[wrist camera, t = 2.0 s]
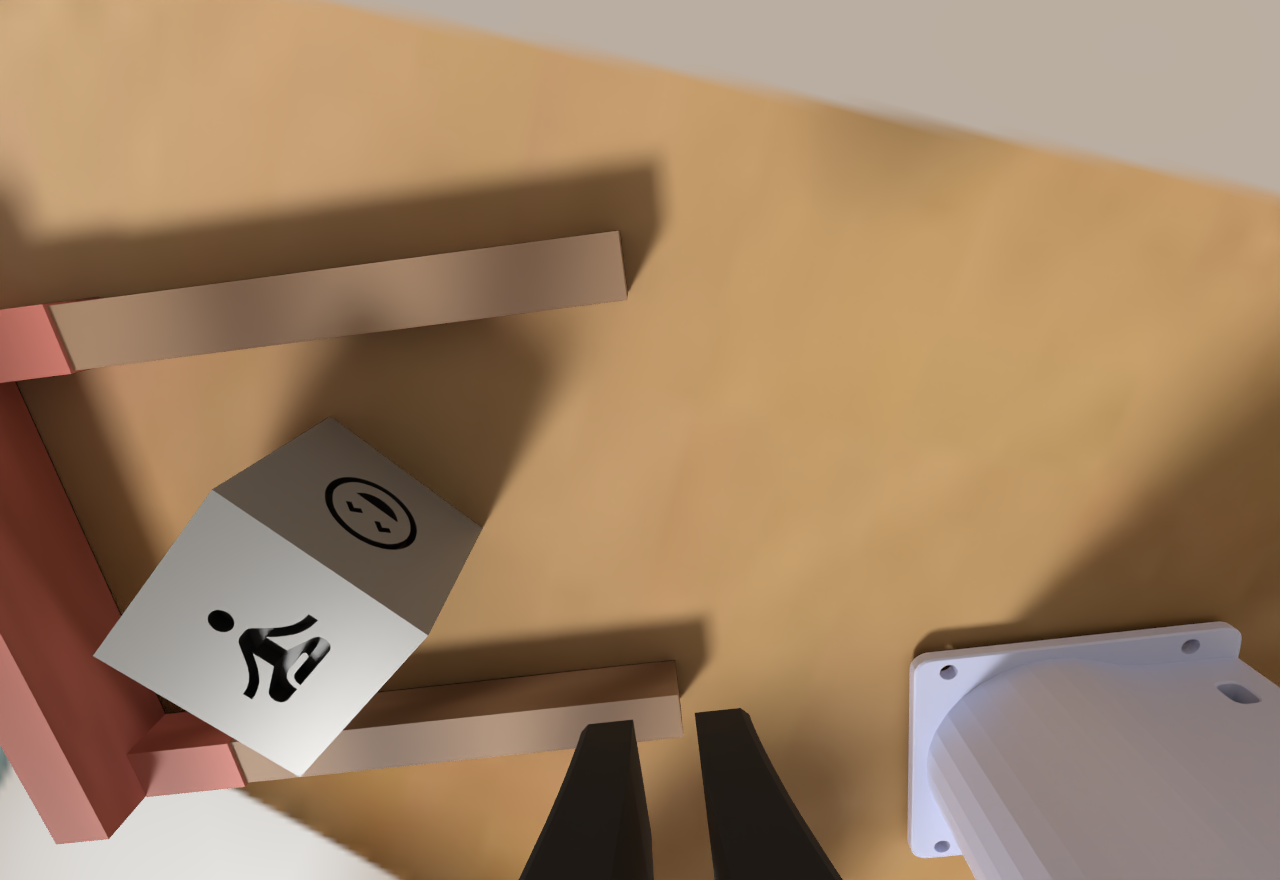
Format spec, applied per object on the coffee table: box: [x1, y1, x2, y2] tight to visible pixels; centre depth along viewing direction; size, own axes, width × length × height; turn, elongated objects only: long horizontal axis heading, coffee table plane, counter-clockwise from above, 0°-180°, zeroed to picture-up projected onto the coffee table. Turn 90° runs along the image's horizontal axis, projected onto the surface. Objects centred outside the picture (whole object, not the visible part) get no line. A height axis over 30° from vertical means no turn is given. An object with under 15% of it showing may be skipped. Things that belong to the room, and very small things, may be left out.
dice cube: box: [93, 416, 483, 777], centre depth 16 cm, size 5×5×5 cm
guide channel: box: [0, 230, 683, 844], centre depth 16 cm, size 18×14×3 cm
